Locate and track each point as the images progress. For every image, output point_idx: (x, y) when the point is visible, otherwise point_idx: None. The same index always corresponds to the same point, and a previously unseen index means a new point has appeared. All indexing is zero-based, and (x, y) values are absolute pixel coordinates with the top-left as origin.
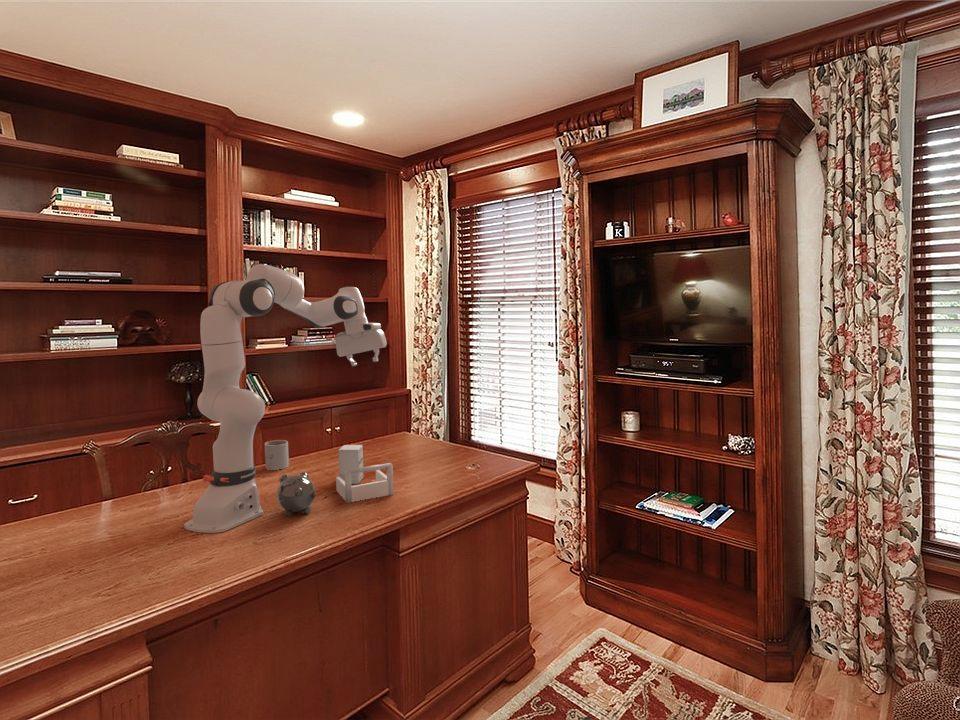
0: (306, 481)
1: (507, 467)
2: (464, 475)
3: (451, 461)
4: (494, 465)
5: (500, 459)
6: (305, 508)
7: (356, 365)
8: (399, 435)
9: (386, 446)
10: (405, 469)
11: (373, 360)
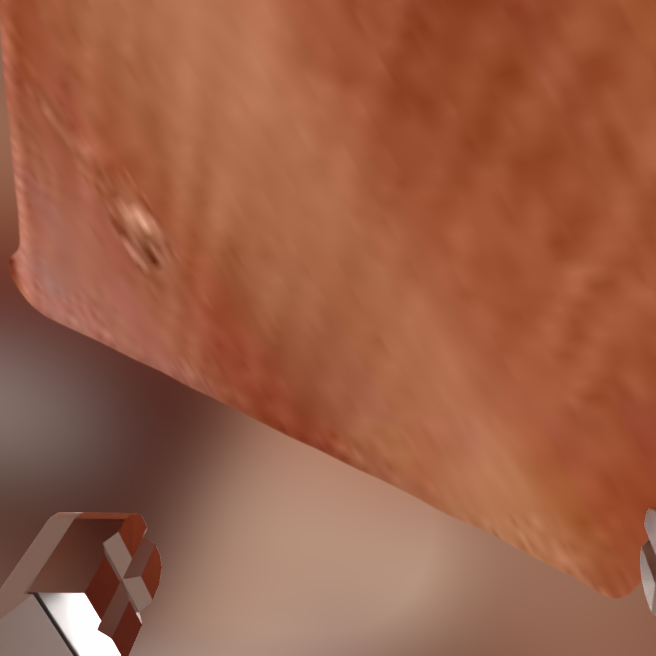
0: None
1: (53, 255)
2: (102, 125)
3: (236, 275)
4: (95, 266)
5: (118, 330)
6: None
7: (641, 551)
8: (625, 572)
9: (611, 423)
10: (341, 116)
11: (110, 528)
